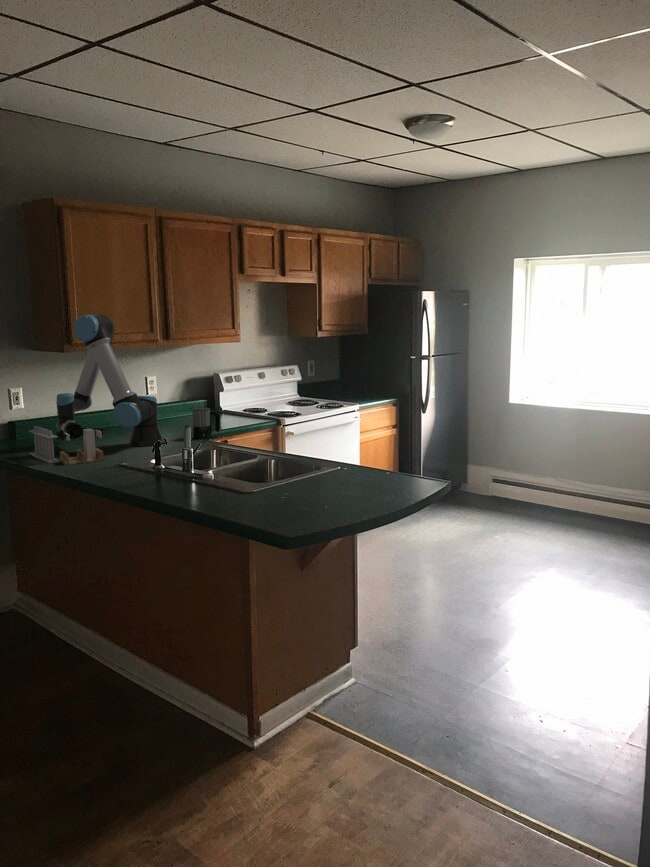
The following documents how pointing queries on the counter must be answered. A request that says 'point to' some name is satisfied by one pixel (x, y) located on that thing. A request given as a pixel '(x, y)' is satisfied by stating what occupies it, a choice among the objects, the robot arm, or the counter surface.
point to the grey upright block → (89, 443)
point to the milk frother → (204, 423)
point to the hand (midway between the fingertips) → (85, 436)
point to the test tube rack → (44, 445)
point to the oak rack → (80, 457)
